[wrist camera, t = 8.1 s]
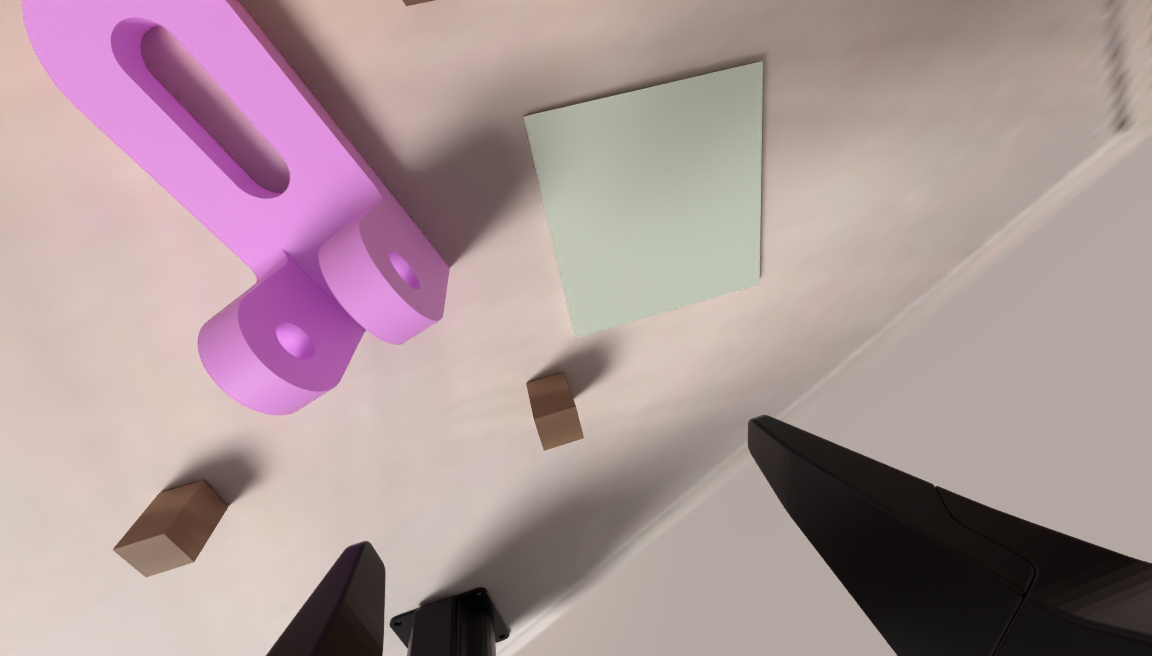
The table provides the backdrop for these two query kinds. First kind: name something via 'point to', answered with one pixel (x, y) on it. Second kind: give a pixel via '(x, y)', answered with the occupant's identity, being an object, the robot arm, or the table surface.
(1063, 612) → the robot arm
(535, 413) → the tiny cardboard boxes
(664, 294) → the felt pad
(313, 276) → the bracket
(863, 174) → the table surface
